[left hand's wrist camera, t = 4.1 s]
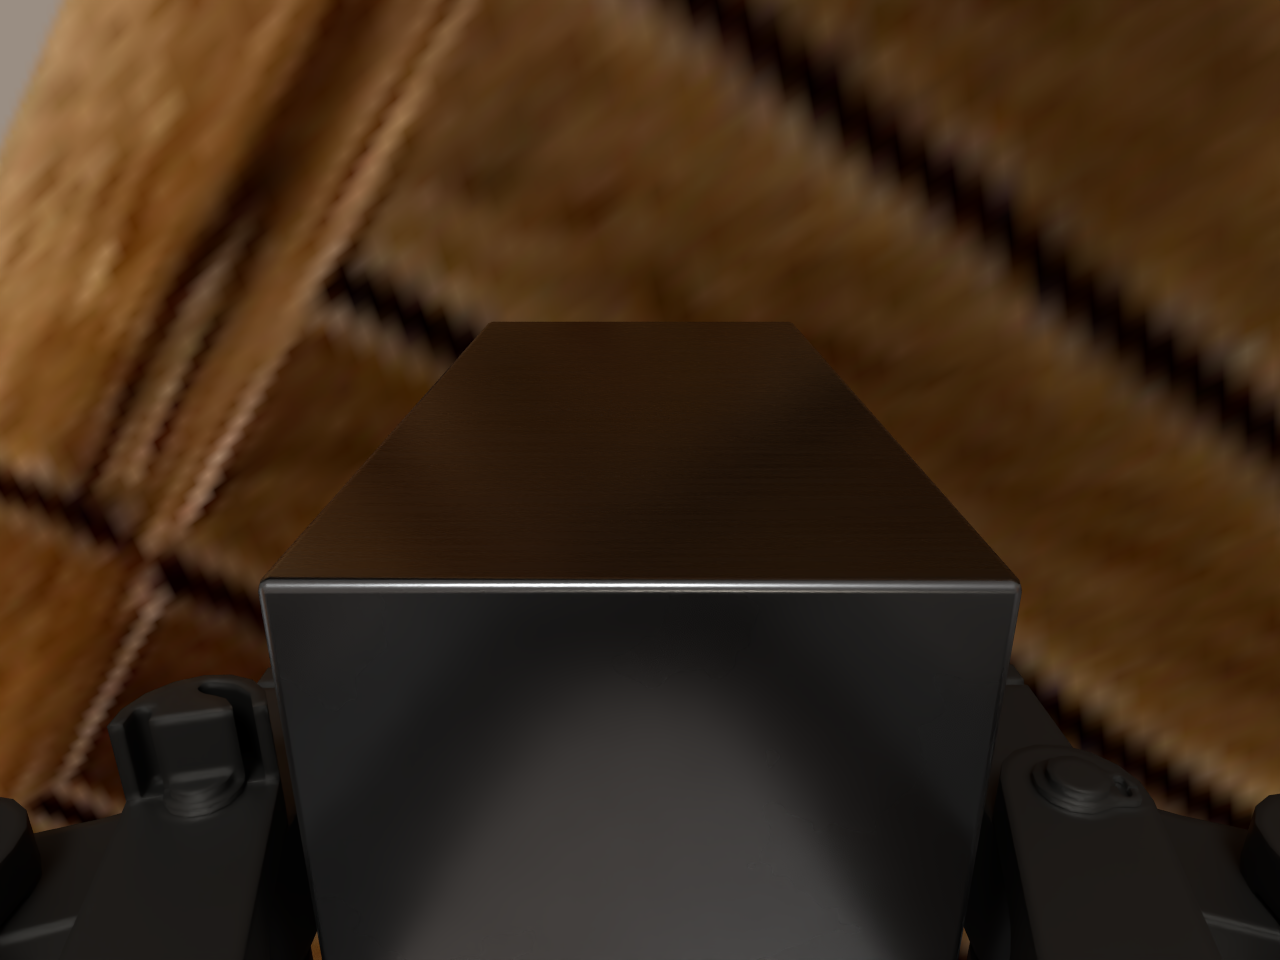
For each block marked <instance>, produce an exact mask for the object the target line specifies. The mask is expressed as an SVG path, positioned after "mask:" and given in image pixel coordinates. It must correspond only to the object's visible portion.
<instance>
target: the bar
mask: <svg viewBox="0 0 1280 960" xmlns="http://www.w3.org/2000/svg"><path fill="white" fill-rule="evenodd" d="M258 592H259V598H260V604H261V610H262V616H263V621H264V627H265V633H266V639H267V644H268V650H269V656H270V662H271V667H272V673H273V679H274V685H275V691H276V696H277V702H278V708H279V714H280V719H281V725H282V731H283V737H284V742H285V748H286V754H287V760H288V765H289V771H290V777H291V783H292V789H293V794H294V800H295V806H296V812H297V817H298V823H299V829H300V835H301V840H302V846H303V852H304V858H305V864H306V869H307V875H308V881H309V887H310V892H311V898H312V904H313V910H314V915H315V921H316V927H317V933H318V939H319V944H320V950H321V956H322V960H958V956H959V951H960V945H961V939H962V933H963V927H964V922H965V916H966V910H967V904H968V899H969V893H970V887H971V881H972V876H973V870H974V864H975V858H976V852H977V847H978V841H979V835H980V829H981V824H982V818H983V812H984V806H985V801H986V795H987V789H988V783H989V778H990V772H991V766H992V760H993V754H994V749H995V743H996V737H997V731H998V726H999V720H1000V714H1001V708H1002V703H1003V697H1004V691H1005V685H1006V680H1007V674H1008V668H1009V662H1010V656H1011V651H1012V645H1013V639H1014V633H1015V628H1016V622H1017V616H1018V610H1019V605H1020V599H1021V593H1022V588H1021V585H1020V581H1019V579H1018V578H1017V577H1016V576H1015V575H1014V574H1013V572H1012V571H1011V570H1010V569H1009V568H1008V567H1007V566H1006V565H1005V563H1004V562H1003V561H1002V560H1001V559H1000V558H999V557H998V555H997V554H996V553H995V552H994V551H993V550H992V549H991V548H990V546H989V545H988V544H987V543H986V542H985V541H984V540H983V539H982V537H981V536H980V535H979V534H978V533H977V532H976V531H975V529H974V528H973V527H972V526H971V525H970V524H969V523H968V522H967V520H966V519H965V518H964V517H963V516H962V515H961V514H960V512H959V511H958V510H957V509H956V508H955V507H954V506H953V505H952V503H951V502H950V501H949V500H948V499H947V498H946V497H945V495H944V494H943V493H942V492H941V491H940V490H939V489H938V488H937V486H936V485H935V484H934V483H933V482H932V481H931V480H930V479H929V477H928V476H927V475H926V474H925V473H924V472H923V471H922V469H921V468H920V467H919V466H918V465H917V464H916V463H915V462H914V460H913V459H912V458H911V457H910V456H909V455H908V454H907V452H906V451H905V450H904V449H903V448H902V447H901V446H900V445H899V443H898V442H897V441H896V440H895V439H894V438H893V437H892V435H891V434H890V433H889V432H888V431H887V430H886V429H885V428H884V426H883V425H882V424H881V423H880V422H879V421H878V420H877V419H876V417H875V416H874V415H873V414H872V413H871V412H870V411H869V409H868V408H867V407H866V406H865V405H864V404H863V403H862V402H861V400H860V399H859V398H858V397H857V396H856V395H855V394H854V392H853V391H852V390H851V389H850V388H849V387H848V386H847V385H846V383H845V382H844V381H843V380H842V379H841V378H840V377H839V375H838V374H837V373H836V372H835V371H834V370H833V369H832V368H831V366H830V365H829V364H828V363H827V362H826V361H825V360H824V358H823V357H822V356H821V355H820V354H819V353H818V352H817V351H816V349H815V348H814V347H813V346H812V345H811V344H810V343H809V342H808V340H807V339H806V338H805V337H804V336H803V335H802V334H801V332H800V331H799V330H798V329H797V328H796V327H795V326H794V325H793V323H790V322H491V323H489V324H488V325H487V326H486V327H485V328H484V329H483V330H482V331H481V333H480V334H479V335H478V336H477V337H476V338H475V339H474V340H473V342H472V343H471V344H470V345H469V346H468V347H467V348H466V349H465V351H464V352H463V353H462V354H461V355H460V356H459V357H458V358H457V360H456V361H455V362H454V363H453V364H452V365H451V366H450V367H449V369H448V370H447V371H446V372H445V373H444V374H443V375H442V376H441V378H440V379H439V380H438V381H437V382H436V383H435V384H434V385H433V387H432V388H431V389H430V390H429V391H428V392H427V393H426V394H425V396H424V397H423V398H422V399H421V400H420V401H419V402H418V403H417V405H416V406H415V407H414V408H413V409H412V410H411V411H410V412H409V414H408V415H407V416H406V417H405V418H404V419H403V420H402V421H401V423H400V424H399V425H398V426H397V427H396V428H395V429H394V430H393V432H392V433H391V434H390V435H389V436H388V437H387V438H386V439H385V441H384V442H383V443H382V444H381V445H380V446H379V447H378V448H377V450H376V451H375V452H374V453H373V454H372V455H371V456H370V457H369V459H368V460H367V461H366V462H365V463H364V464H363V465H362V466H361V468H360V469H359V470H358V471H357V472H356V473H355V474H354V475H353V477H352V478H351V479H350V480H349V481H348V482H347V483H346V484H345V486H344V487H343V488H342V489H341V490H340V491H339V492H338V493H337V495H336V496H335V497H334V498H333V499H332V500H331V501H330V502H329V504H328V505H327V506H326V507H325V508H324V509H323V510H322V511H321V513H320V514H319V515H318V516H317V517H316V518H315V519H314V520H313V522H312V523H311V524H310V525H309V526H308V527H307V528H306V529H305V531H304V532H303V533H302V534H301V535H300V536H299V537H298V538H297V540H296V541H295V542H294V543H293V544H292V545H291V546H290V547H289V549H288V550H287V551H286V552H285V553H284V554H283V555H282V556H281V558H280V559H279V560H278V561H277V562H276V563H275V564H274V565H273V567H272V568H271V569H270V570H269V571H268V572H267V573H266V574H265V576H264V577H263V578H262V579H261V581H260V584H259V588H258Z"/></svg>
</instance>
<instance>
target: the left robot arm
mask: <svg viewBox="0 0 1280 960" xmlns="http://www.w3.org/2000/svg"><path fill="white" fill-rule="evenodd" d="M107 728H108V732H109V736H110V740H111V744H112V747H113V751H114V755H115V759H116V763H117V767H118V771H119V775H120V778H121V782H122V786H123V790H124V794H125V798H126V804H125V807H124V809H123V811H122V813H120V814H117V815H113V816H110V817H106V818H103V819H98V820H94V821H89V822H85V823H80V824H75V825H71V826H66V827H61V828H57V829H52V830H47V831H43V832H38V833H33V830H32V827H31V824H30V820H29V817H28V814H27V811H26V809H24V808H23V807H22V806H21V805H20V804H18V803H17V802H16V801H15V800H14V799H9V798H2V797H0V960H313V956H312V950H311V944H312V942H313V939H314V937H315V934H316V932H317V927H316V921H315V915H314V910H313V904H312V898H311V892H310V887H309V881H308V875H307V869H306V864H305V858H304V852H303V846H302V840H301V835H300V829H299V823H298V817H297V812H296V806H295V800H294V794H293V789H292V783H291V777H290V771H289V765H288V760H287V754H286V748H285V742H284V737H283V731H282V725H281V719H280V714H279V708H278V702H277V696H276V691H275V685H274V679H273V673H272V668H268V669H267V670H266V672H265V673H264V675H263V676H262V677H261V679H260V680H259V682H258V684H257V683H256V682H254V681H253V680H251V679H247V678H243V677H238V676H234V675H204V676H199V677H195V678H190V679H186V680H181V681H176V682H173V683H170V684H168V685H166V686H163V687H161V688H158V689H156V690H153V691H151V692H148V693H146V694H144V695H143V696H141V697H140V698H138V699H137V700H135V701H133V702H132V703H130V704H129V705H127V706H126V707H124V708H123V709H122V710H121V711H120V712H119V713H118V714H117V715H116V717H115V718H114V719H113V720H112V721H111V723H110V724H109V725H108V726H107ZM964 928H965V931H966V933H967V936H968V938H969V940H970V945H969V950H968V956H967V960H1280V794H1275V795H1269V796H1268V797H1266V798H1265V799H1264V800H1263V801H1262V802H1260V803H1259V804H1258V805H1257V806H1256V807H1255V810H1254V813H1253V817H1252V820H1251V823H1250V826H1249V830H1246V829H1242V828H1237V827H1232V826H1228V825H1223V824H1218V823H1214V822H1209V821H1204V820H1200V819H1195V818H1190V817H1186V816H1181V815H1177V814H1174V813H1170V812H1167V811H1163V810H1160V809H1157V807H1156V805H1155V803H1154V801H1153V799H1152V798H1151V796H1150V795H1149V794H1148V792H1147V791H1146V790H1145V788H1144V787H1143V785H1142V784H1141V783H1140V781H1138V780H1137V779H1136V778H1134V777H1133V776H1132V775H1130V774H1129V773H1128V772H1126V771H1125V770H1124V769H1122V768H1121V767H1120V766H1118V765H1117V764H1115V763H1112V762H1110V761H1108V760H1106V759H1104V758H1102V757H1099V756H1097V755H1095V754H1093V753H1091V752H1087V751H1083V750H1079V749H1075V748H1073V747H1072V746H1071V744H1070V743H1069V742H1068V740H1067V739H1066V738H1065V736H1064V735H1063V733H1062V732H1061V731H1060V729H1059V728H1058V726H1057V725H1056V724H1055V722H1054V721H1053V720H1052V718H1051V717H1050V715H1049V714H1048V713H1047V711H1046V710H1045V709H1044V707H1043V706H1042V704H1041V703H1040V702H1039V700H1038V699H1037V698H1036V696H1035V695H1034V693H1033V692H1032V691H1031V689H1030V688H1029V686H1028V685H1024V680H1023V678H1022V677H1021V675H1020V674H1019V673H1018V671H1017V670H1016V669H1015V667H1014V666H1013V665H1010V664H1009V668H1008V674H1007V680H1006V685H1005V691H1004V697H1003V703H1002V708H1001V714H1000V720H999V726H998V731H997V737H996V743H995V749H994V754H993V760H992V766H991V772H990V778H989V783H988V789H987V795H986V801H985V806H984V812H983V818H982V824H981V829H980V835H979V841H978V847H977V852H976V858H975V864H974V870H973V876H972V881H971V887H970V893H969V899H968V904H967V910H966V916H965V922H964Z"/></svg>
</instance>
